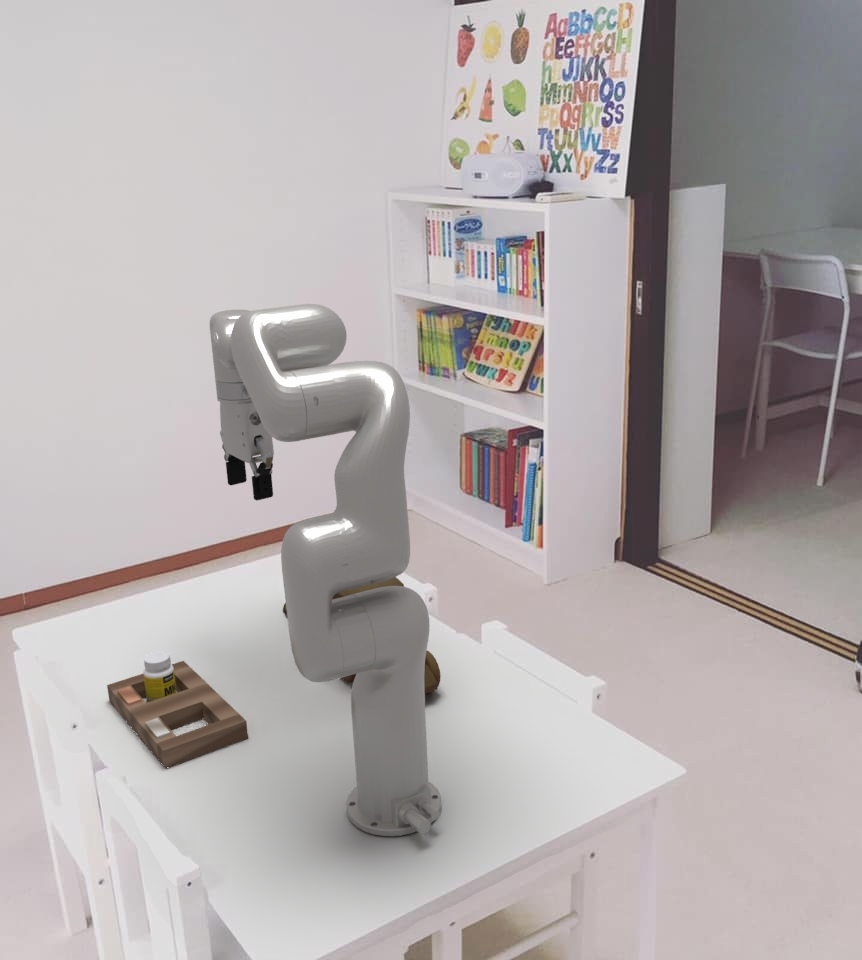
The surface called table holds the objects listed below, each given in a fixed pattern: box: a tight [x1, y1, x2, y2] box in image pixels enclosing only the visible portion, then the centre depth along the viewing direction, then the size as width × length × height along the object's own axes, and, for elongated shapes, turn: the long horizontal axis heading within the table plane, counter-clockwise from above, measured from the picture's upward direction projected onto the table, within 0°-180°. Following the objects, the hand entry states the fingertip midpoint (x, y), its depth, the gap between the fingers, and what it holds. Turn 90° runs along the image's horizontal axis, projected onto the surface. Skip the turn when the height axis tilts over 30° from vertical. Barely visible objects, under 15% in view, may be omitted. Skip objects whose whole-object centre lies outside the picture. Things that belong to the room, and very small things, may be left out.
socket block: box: [106, 660, 249, 769], centre depth 168 cm, size 24×13×3 cm, turn 35°
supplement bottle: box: [142, 651, 178, 703], centre depth 171 cm, size 5×5×8 cm
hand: (250, 490), depth 177 cm, fingers open, 9 cm apart
